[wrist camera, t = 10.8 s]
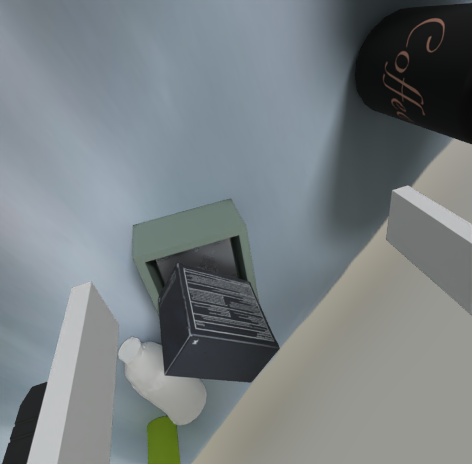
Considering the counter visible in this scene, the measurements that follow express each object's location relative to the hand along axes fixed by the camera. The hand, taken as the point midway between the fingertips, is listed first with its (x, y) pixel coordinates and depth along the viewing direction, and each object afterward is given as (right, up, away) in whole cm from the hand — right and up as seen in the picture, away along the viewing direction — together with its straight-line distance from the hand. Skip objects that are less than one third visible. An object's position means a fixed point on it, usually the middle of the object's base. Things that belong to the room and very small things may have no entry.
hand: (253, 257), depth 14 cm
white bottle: (-14, -21, +42) cm, 49 cm away
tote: (-6, -3, +32) cm, 32 cm away
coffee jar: (+18, +21, +24) cm, 37 cm away
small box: (-5, -6, +26) cm, 27 cm away
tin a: (-7, 0, +29) cm, 30 cm away
